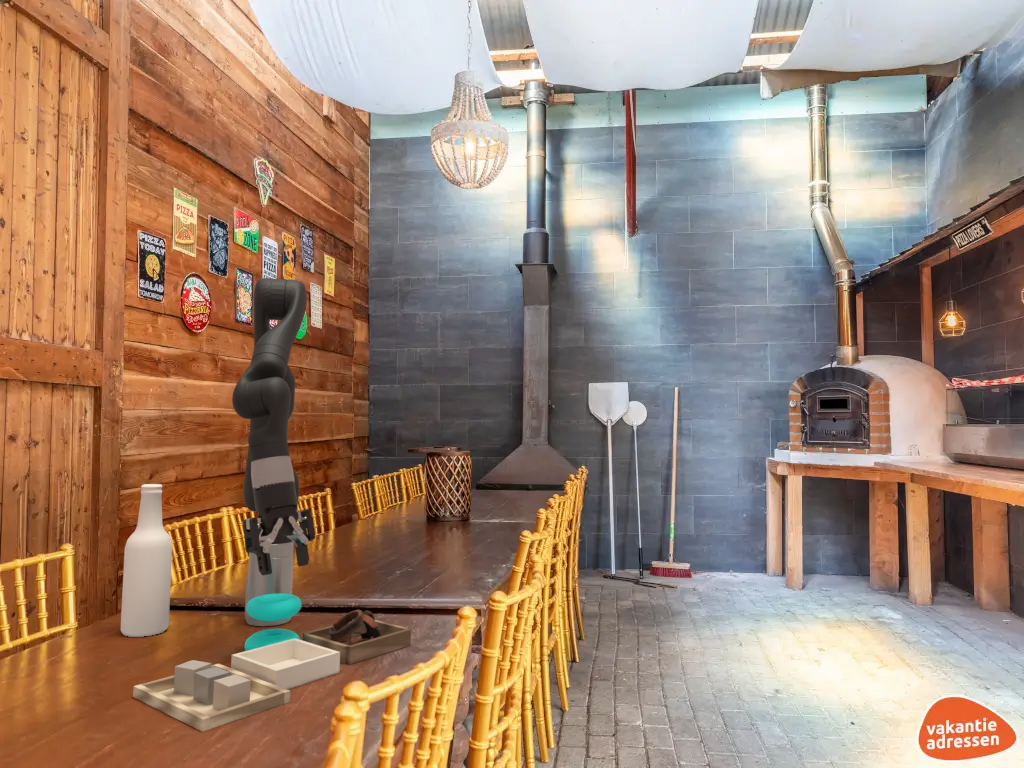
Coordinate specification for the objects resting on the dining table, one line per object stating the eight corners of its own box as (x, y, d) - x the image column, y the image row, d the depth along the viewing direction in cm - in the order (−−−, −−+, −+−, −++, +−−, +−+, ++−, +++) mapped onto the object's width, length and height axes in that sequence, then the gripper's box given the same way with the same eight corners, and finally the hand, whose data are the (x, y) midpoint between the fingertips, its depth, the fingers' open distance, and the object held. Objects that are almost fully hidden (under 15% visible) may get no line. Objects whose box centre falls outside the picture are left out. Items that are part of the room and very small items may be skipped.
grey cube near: (212, 708, 106) (213, 680, 106) (234, 701, 108) (235, 674, 109) (227, 715, 103) (228, 686, 103) (249, 707, 106) (250, 680, 106)
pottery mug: (381, 660, 132) (359, 623, 131) (337, 679, 134) (315, 643, 133) (395, 626, 144) (375, 592, 143) (355, 644, 146) (335, 610, 144)
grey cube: (193, 699, 109) (194, 672, 109) (214, 692, 112) (215, 666, 112) (207, 705, 106) (208, 678, 107) (228, 699, 109) (230, 672, 109)
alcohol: (126, 640, 140) (134, 486, 142) (115, 630, 147) (123, 484, 149) (174, 632, 146) (180, 485, 148) (161, 623, 153) (168, 482, 155)
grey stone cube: (173, 692, 111) (174, 666, 112) (191, 685, 115) (192, 659, 115) (193, 696, 110) (194, 669, 110) (210, 689, 113) (211, 663, 113)
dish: (230, 679, 120) (231, 654, 120) (294, 660, 130) (295, 638, 130) (275, 697, 112) (276, 670, 112) (339, 675, 122) (340, 652, 122)
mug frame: (300, 649, 136) (300, 633, 136) (364, 631, 149) (364, 617, 149) (348, 665, 128) (348, 647, 128) (412, 644, 140) (412, 629, 141)
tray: (132, 700, 109) (133, 686, 110) (217, 676, 121) (218, 663, 121) (202, 735, 97) (203, 719, 98) (289, 705, 108) (290, 690, 109)
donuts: (304, 601, 133) (247, 606, 129) (303, 656, 132) (245, 662, 128) (298, 590, 142) (245, 594, 138) (296, 641, 141) (242, 647, 137)
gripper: (289, 483, 142) (301, 565, 140) (228, 489, 130) (239, 580, 128) (316, 476, 138) (328, 561, 136) (255, 483, 126) (267, 575, 124)
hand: (285, 570), depth 132 cm, fingers open, 8 cm apart
